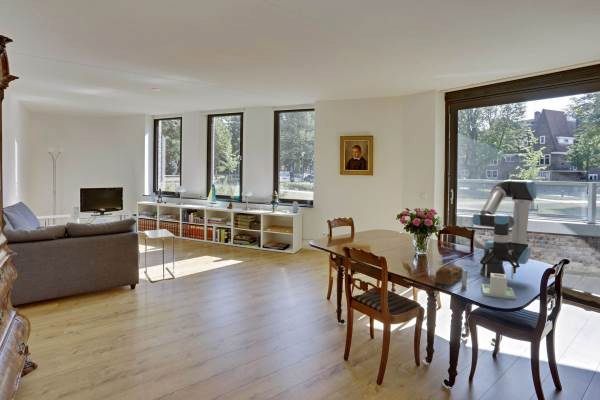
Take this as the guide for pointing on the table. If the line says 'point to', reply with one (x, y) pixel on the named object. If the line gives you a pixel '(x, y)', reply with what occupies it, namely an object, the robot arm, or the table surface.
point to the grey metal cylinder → (464, 280)
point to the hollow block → (498, 283)
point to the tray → (508, 295)
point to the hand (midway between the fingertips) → (498, 277)
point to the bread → (449, 275)
